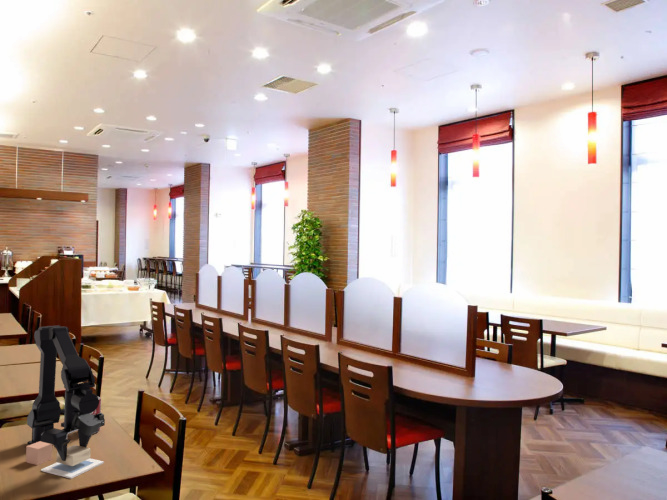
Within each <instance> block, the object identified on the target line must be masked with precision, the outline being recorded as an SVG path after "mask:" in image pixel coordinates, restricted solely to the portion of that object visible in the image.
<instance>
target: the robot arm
mask: <svg viewBox="0 0 667 500" xmlns="http://www.w3.org/2000/svg"><path fill="white" fill-rule="evenodd" d="M33 337H34V341H35V346H36V347H37V349H38V350H39V351H40V363H39V364H40V365H39V383H38V384H39V385H38V395H37V396H36V398H35V399H34V401H33V402H32V407H31V410H30V412H29V413H28V415H27V418H26V423H27V424H26V425H27V426H29V428H30V429H32V431H31V440H29V441H27V445H31V444H34V443H36V442H39V441H41V442H45V443H49V444H53V446H54V449H56V451H57V452H58V453H59V455H60V457H61V459H62V461H66V457H67V448H68V445H69V443H70V442H71V440H72V439H68V435H69V434H72V433H76V432H77V433H78V435H77V436H78V443H79V445H78V446H82V447H87V446H88V445H89V443H90V442H89V441H90V439H91V437H92V435H94V434H93V433H94V432H97V433H99V432H98V430H99V427H100V428H102V427H103V426H105V424H106V423H105V422H106V418H105V414H104V413H103V412H101V413H98V414H96V415H94V414H92V415H90V413H92V412H93V411H95V410H96V409H97V407H98V405H99V399H98V397H99V396H98V395H97V394H95V393H93V388H95V387H96V378H95V375H94V373H93V370H92V367H91V366H90V365H89V363H88V362H87V360H86V359H85V358H83V357H82V356H79V354H78V351H77V350H76V347H75V344H74V343H73V340H72V339H71V337H70V329H69V328H68V326H61V325H47V326H39V327H38V329H36V330H35V331H34V335H33ZM57 354H58V356H59V359H60V362H61V364H62V367H61V370H60V371H61V372H60V378H61V381H62V385H63V388H64V389H65V390H64V408H61V402H60V401H59V400H58V398H57V396H56V395H55V391H56V390H55V389H56V374H57V373H56V370H57V369H56V368H57ZM97 396H98V397H97ZM61 414H64V416H63V417H64V418H63V420H64V421H62V422H61V423H60V427H62V428H63V429H61V428H60V429H59V428H55V425H54V424H56V423H57V424H59V422H60V419H61ZM99 431H100V430H99ZM87 448H88V447H87Z"/></svg>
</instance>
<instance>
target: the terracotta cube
mask: <svg viewBox="0 0 667 500" xmlns="http://www.w3.org/2000/svg"><path fill="white" fill-rule="evenodd" d="M53 446H54V445H53V444H49V443H45V442H41V441H39V442H36V443H34V444H27V445H26V452H25V453H26V454H25V463H28V464H32V465H36V466H39V465H42V464H44V463H46V462H49V461H51V460H53Z"/></svg>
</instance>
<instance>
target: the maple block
mask: <svg viewBox="0 0 667 500" xmlns="http://www.w3.org/2000/svg"><path fill="white" fill-rule="evenodd" d="M90 458H91V448H90V447H82V446H80V445H78V444H73V445H70V446H67V457H66V461H62V459H61V457H60V455H59V453H58V451H57V452H56V462H55V463H57V462H58V463H62V464H66V465H70V466H74V465H76V464H79V463H81V462H83V461H85V460H87V459H90Z"/></svg>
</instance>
